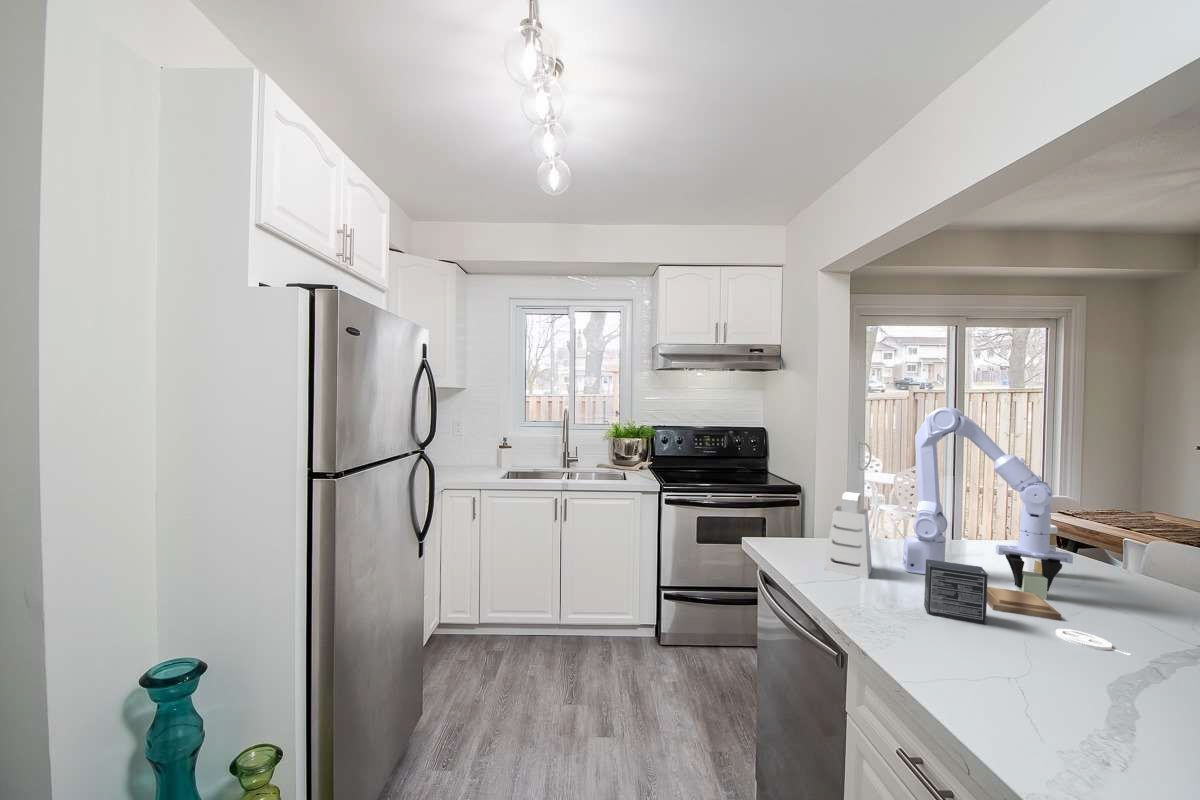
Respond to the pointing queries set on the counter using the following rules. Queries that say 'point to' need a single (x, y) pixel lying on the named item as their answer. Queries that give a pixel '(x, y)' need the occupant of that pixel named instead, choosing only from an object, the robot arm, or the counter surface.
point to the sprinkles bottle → (1051, 547)
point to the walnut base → (1020, 603)
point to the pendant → (1085, 640)
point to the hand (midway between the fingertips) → (1031, 588)
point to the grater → (849, 538)
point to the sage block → (1034, 584)
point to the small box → (956, 591)
